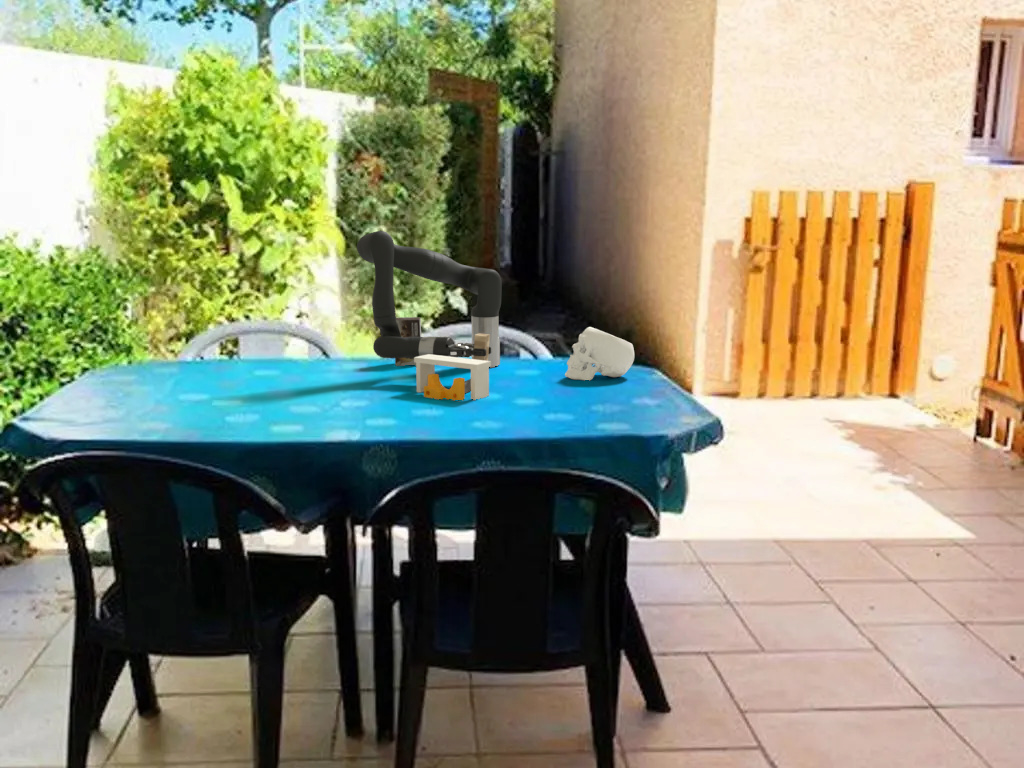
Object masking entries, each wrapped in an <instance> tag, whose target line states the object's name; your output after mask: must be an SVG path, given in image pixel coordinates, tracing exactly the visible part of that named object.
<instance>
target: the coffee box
mask: <svg viewBox="0 0 1024 768" xmlns="http://www.w3.org/2000/svg"><path fill="white" fill-rule="evenodd" d="M421 319H422V317H419V316H418V317H417V316H407V317H406V316H405V317H404V316H403V317H401V316H400V317H398V316H397V317H396V322H397V325H398V327H399V330H400V334H401V337H422V324H421V323H422V321H421ZM394 363H395V365H396V366H395V365H394V366H395V367H403V366H404V367H406V366H405V365H415V366H416V362H414V359H411V358H394Z"/></svg>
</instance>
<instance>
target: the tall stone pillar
mask: <svg viewBox="0 0 1024 768" xmlns="http://www.w3.org/2000/svg"><path fill="white" fill-rule="evenodd" d="M489 339H490V335H489V334H482V333H478V334H476V335H475V342H474V349H475V348H477V349H486V356H474V357H473V359H476V360H485V361H488V354H489ZM469 392H470V393H471V378H469V379H467V380H465V393H466V394H468V393H469Z"/></svg>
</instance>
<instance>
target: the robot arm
mask: <svg viewBox="0 0 1024 768" xmlns="http://www.w3.org/2000/svg"><path fill="white" fill-rule="evenodd" d="M356 251H357V253H358V255H359V256H360V258H362V260H364V261H365V262H368V263H370V264H373V265H374V275H375V277H374V285H373V290H372V291H373V292H372V296H371V297H372V300H371V304H372V307H371V308H372V315H373V322H374V325H375V327H376V328H377V329H378V330H379V332H380V333H379V334H380V336H379V337H377V338H375V340H374V343H373V346H372V347H373V351H374V353H375V354H376V355H377V356H378V357H380V358H383V359H395V358H411V359H414V357H418V356H422V355H427V354H432V355H441V356H450V357H458V358H467V359H470V357H471V359H473V357H474V356H486V349H477V348H475V349H474V342H475V335H476V334H478V333H482V334H489V335H490V339H489V354H488V361H491V366H490V368H496V367H495V366H497V367H498V365H501V337H499V336H500V335H499V333H500V332H499V331H500V330H499V326H500V325H499V324H500V323H499V319H500V318H499V315H500V314H499V312H500V308H501V305H502V287H503V286H502V283H503V282H502V278H501V275H500V274H499V273H498V271H496V270H495V269H492V268H484V267H475V266H470V265H464V264H461V263H459V262H457V261H455V260H453V259H452V258H451V257H450V256H447V255H445V254H442V253H440V252H437V251H434V250H431V249H427V248H422V247H415V246H403V245H398V244H396V243H395V242H394V240H393V237H392V236H391V235H390V234H389V233H388V232H387V231H385V230H378V231H377V230H376V231H374V232H370V233H366V234H364V235H363V236H361V237H360V238H359V239H358V241H357V244H356ZM395 268H396V269H398V270H402V271H403V272H406V273H408V274H411V275H415V276H418V277H420V278H422V279H423V278H424V279H427V280H430V281H434V282H437V283H443V284H450V285H454V286H455V287H456V286H457V287H459V288H461V289H464V290H465V291H468V292H470V293H472V294H475V295H476V296H477V303H476V304H475V306H473V307H472V308H471V342H469V343H468V342H457V343H455V342H454V340H453V339H452V337H449V336H448V337H447V336H421V337H401V334H400V330H399V327H398V325H397V322H396V318H397V315H396V308H395V307H396V306H395V305H396V304H395V295H394V269H395Z"/></svg>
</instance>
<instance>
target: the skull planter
mask: <svg viewBox="0 0 1024 768" xmlns="http://www.w3.org/2000/svg"><path fill="white" fill-rule="evenodd" d="M571 348H572V349H573V353H572V354H570V355H569V356H570V357H569V359H568V360H567V362H566V365H567V370H566V372H565V374H564V376H565V377H566V378H568V379H571V380H580V381H585V380H589V381H591V380H593V378H594V377H595V374H596V373H599V374H601V376H604V377H605V376H608V377H610V378H617V377H618V378H620V377H622V376H624V375H625V374H626V373H627V372H628V371H629V370H630V369H631V367H632V366H633V363H634V361H635V350H634V345H633V343H631V342H629V341H627V340H625V339H622V338H620V337H617V336H615V335H613V334H610V333H608V332H605V331H603V330H600V329H598V328H596V327H595V328H594V327H592V326H588V327H586V328H585V329H584V330H583V331H582V332H581V333H580V334H579V335H578V341H577V342H576V343H574V344H572V346H571Z"/></svg>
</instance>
